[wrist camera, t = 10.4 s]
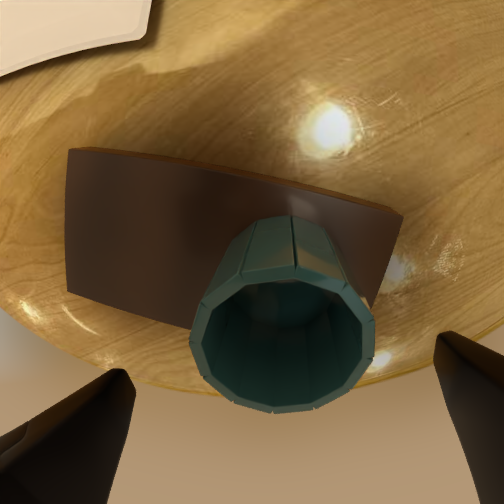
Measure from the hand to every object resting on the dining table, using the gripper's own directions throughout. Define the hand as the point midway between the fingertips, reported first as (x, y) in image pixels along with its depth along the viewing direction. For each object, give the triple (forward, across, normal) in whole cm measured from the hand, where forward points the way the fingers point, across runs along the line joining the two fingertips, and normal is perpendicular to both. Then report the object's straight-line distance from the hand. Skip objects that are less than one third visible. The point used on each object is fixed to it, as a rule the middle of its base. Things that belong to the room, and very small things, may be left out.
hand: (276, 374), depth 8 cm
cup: (+6, 0, 0) cm, 6 cm away
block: (+8, +3, -1) cm, 9 cm away
